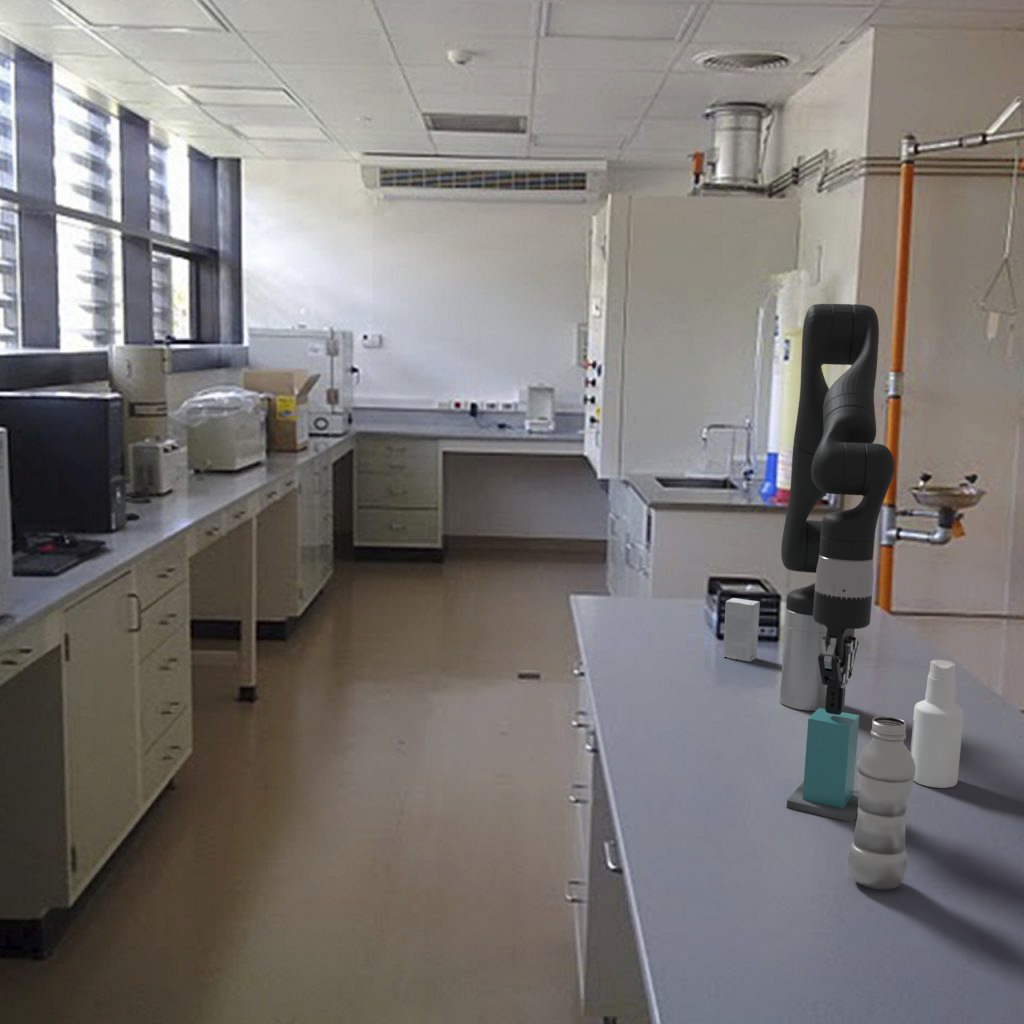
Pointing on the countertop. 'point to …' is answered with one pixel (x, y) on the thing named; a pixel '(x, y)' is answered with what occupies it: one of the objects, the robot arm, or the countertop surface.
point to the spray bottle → (937, 729)
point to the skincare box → (741, 629)
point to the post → (824, 806)
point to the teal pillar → (830, 758)
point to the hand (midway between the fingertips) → (834, 712)
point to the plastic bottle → (882, 806)
